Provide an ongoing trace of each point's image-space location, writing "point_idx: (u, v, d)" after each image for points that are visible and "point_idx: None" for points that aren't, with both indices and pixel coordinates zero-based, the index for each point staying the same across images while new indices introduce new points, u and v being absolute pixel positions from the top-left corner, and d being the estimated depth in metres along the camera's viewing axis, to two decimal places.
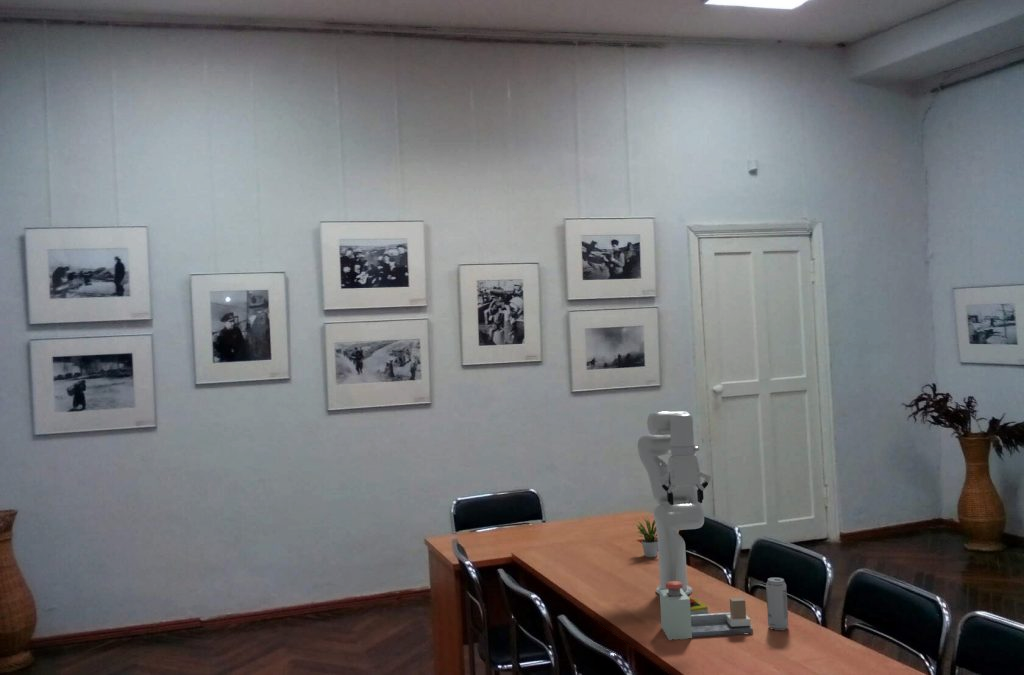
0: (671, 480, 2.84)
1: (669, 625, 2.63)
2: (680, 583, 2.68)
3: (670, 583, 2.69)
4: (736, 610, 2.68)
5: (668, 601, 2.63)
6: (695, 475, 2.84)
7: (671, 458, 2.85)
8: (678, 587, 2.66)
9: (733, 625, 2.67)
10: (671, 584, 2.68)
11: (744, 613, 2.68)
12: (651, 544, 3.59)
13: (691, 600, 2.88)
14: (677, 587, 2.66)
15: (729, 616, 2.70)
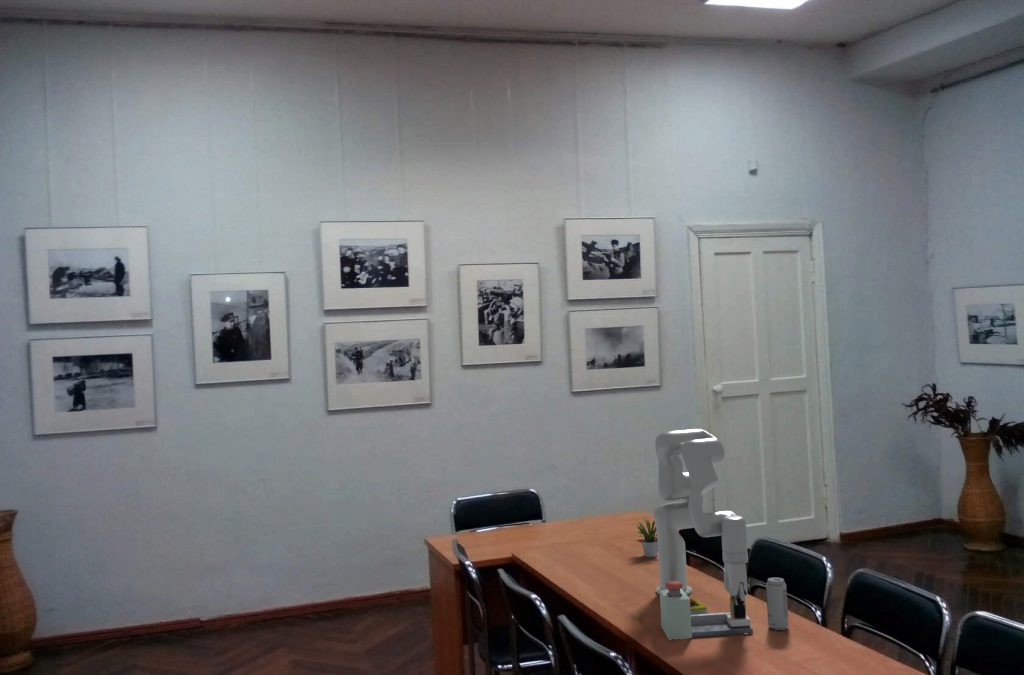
0: (747, 589, 2.64)
1: (669, 625, 2.63)
2: (680, 583, 2.68)
3: (670, 583, 2.69)
4: None
5: (668, 601, 2.63)
6: None
7: (743, 565, 2.65)
8: (678, 587, 2.66)
9: (733, 625, 2.67)
10: (671, 584, 2.68)
11: None
12: (651, 544, 3.59)
13: (690, 600, 2.88)
14: (677, 587, 2.66)
15: (729, 616, 2.70)
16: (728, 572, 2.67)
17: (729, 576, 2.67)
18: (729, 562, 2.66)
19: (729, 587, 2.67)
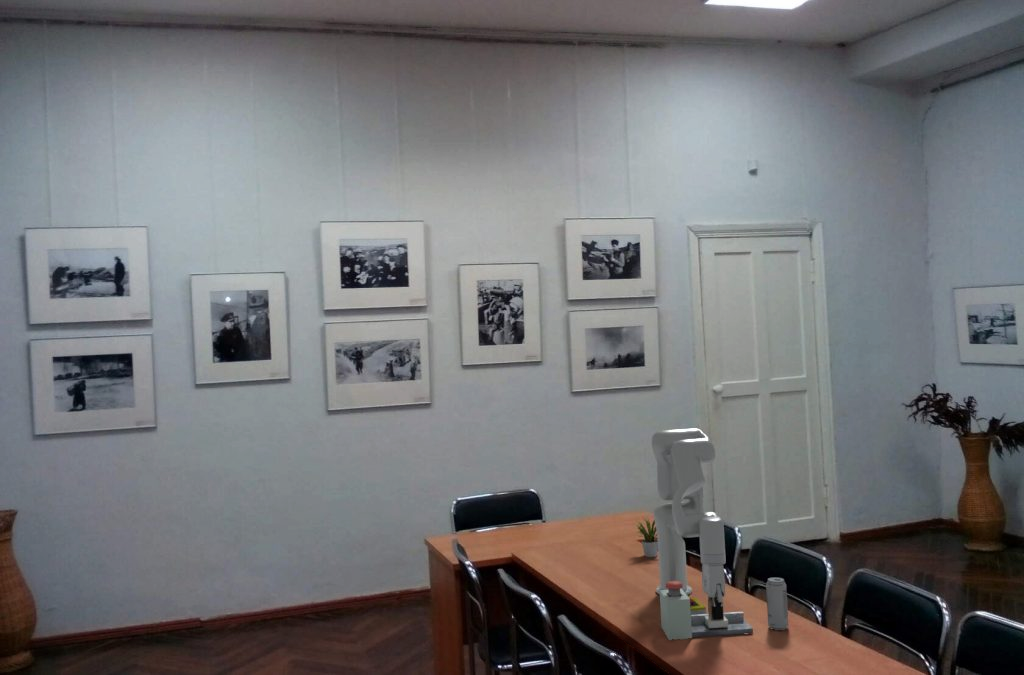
0: (724, 590, 2.64)
1: (669, 625, 2.63)
2: (680, 583, 2.68)
3: (670, 583, 2.69)
4: None
5: (668, 601, 2.63)
6: None
7: (721, 567, 2.65)
8: (678, 587, 2.66)
9: (711, 626, 2.66)
10: (671, 584, 2.68)
11: None
12: (651, 544, 3.59)
13: (690, 600, 2.88)
14: (677, 587, 2.66)
15: (707, 617, 2.70)
16: (706, 573, 2.67)
17: (707, 577, 2.66)
18: (707, 563, 2.66)
19: (707, 588, 2.67)
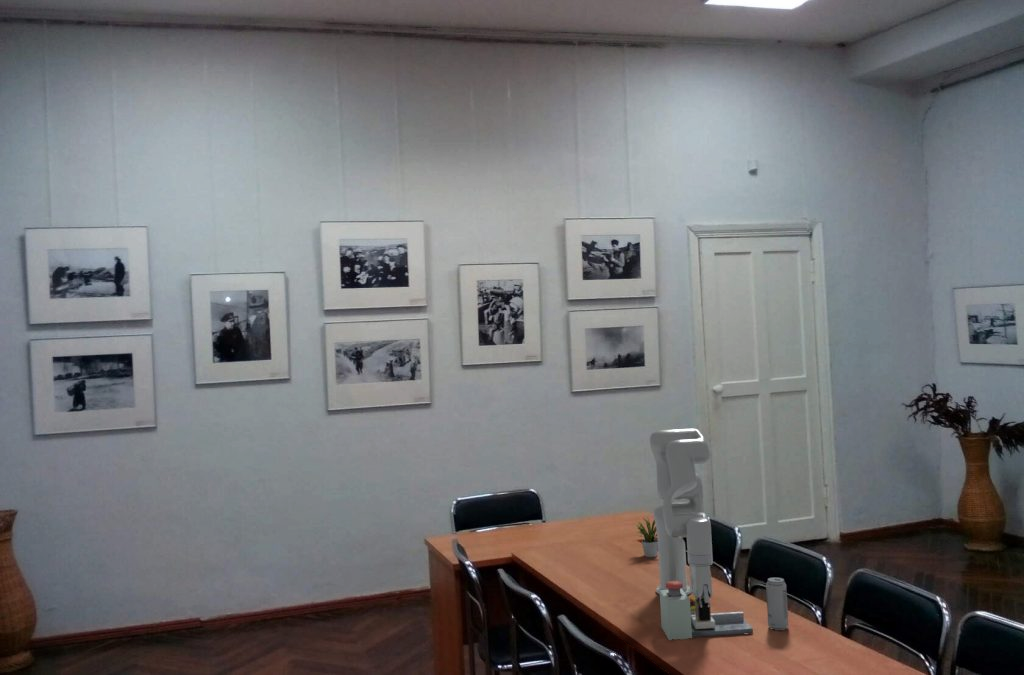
0: (711, 591, 2.64)
1: (669, 625, 2.63)
2: (680, 583, 2.68)
3: (670, 583, 2.69)
4: None
5: (668, 601, 2.63)
6: None
7: (708, 568, 2.64)
8: (678, 587, 2.66)
9: (698, 627, 2.66)
10: (671, 584, 2.68)
11: None
12: (651, 544, 3.59)
13: (690, 600, 2.88)
14: (677, 587, 2.66)
15: (694, 618, 2.70)
16: (693, 574, 2.67)
17: (694, 578, 2.66)
18: (694, 564, 2.66)
19: (694, 589, 2.67)
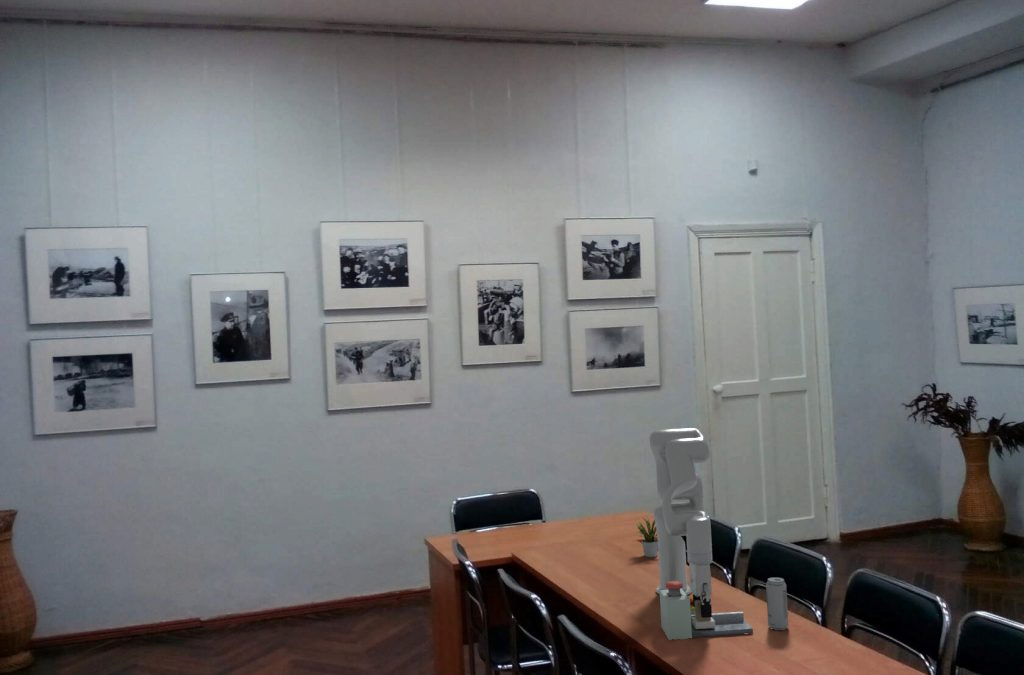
0: (710, 590, 2.64)
1: (669, 625, 2.63)
2: (680, 583, 2.68)
3: (670, 583, 2.69)
4: (700, 612, 2.67)
5: (668, 601, 2.63)
6: None
7: (707, 566, 2.65)
8: (678, 587, 2.66)
9: (698, 627, 2.66)
10: (671, 584, 2.68)
11: None
12: (651, 544, 3.59)
13: (690, 600, 2.88)
14: (677, 587, 2.66)
15: (694, 618, 2.70)
16: (692, 573, 2.67)
17: (693, 577, 2.66)
18: (693, 563, 2.66)
19: (693, 588, 2.67)
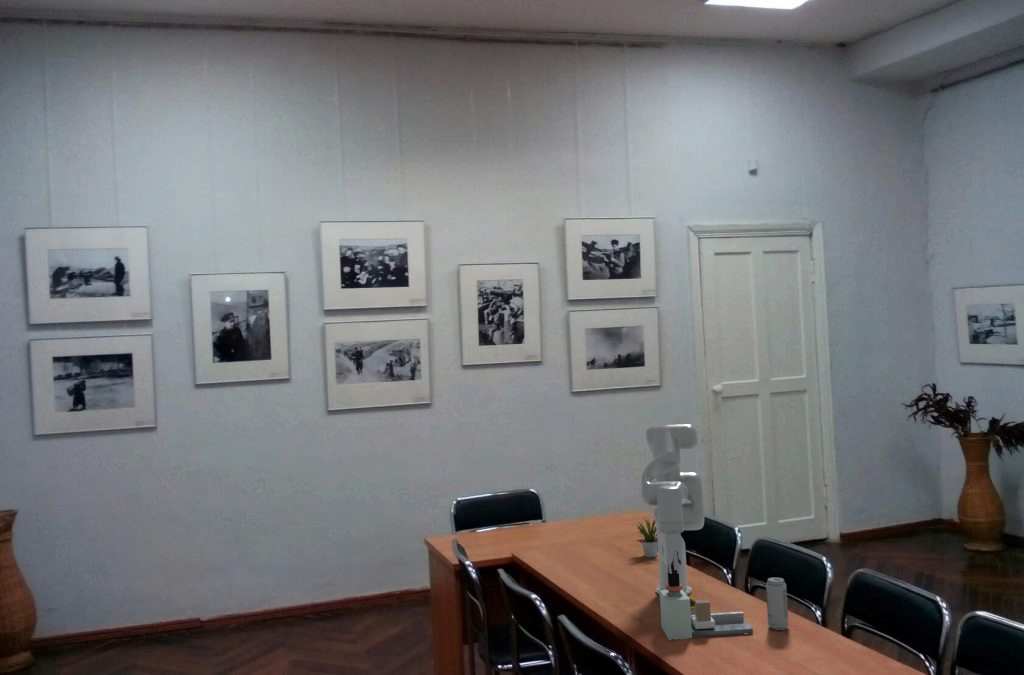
0: (681, 558, 2.64)
1: (669, 625, 2.63)
2: (680, 585, 2.68)
3: None
4: (700, 612, 2.67)
5: (668, 601, 2.63)
6: None
7: (678, 535, 2.64)
8: (678, 589, 2.66)
9: (698, 627, 2.66)
10: None
11: (709, 615, 2.67)
12: (651, 544, 3.59)
13: None
14: (677, 589, 2.66)
15: (694, 618, 2.70)
16: (663, 542, 2.67)
17: (664, 546, 2.66)
18: (664, 531, 2.66)
19: (664, 557, 2.66)
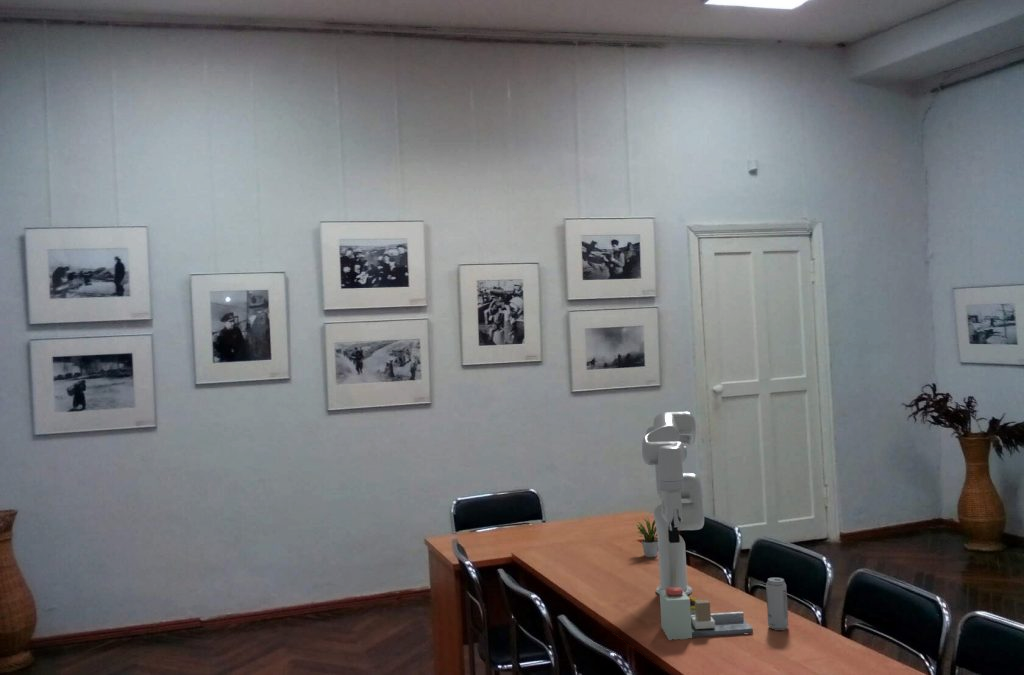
0: (681, 516, 2.71)
1: (669, 625, 2.63)
2: (680, 589, 2.68)
3: (670, 589, 2.69)
4: (700, 612, 2.67)
5: (668, 601, 2.63)
6: None
7: (678, 493, 2.71)
8: (678, 593, 2.66)
9: (698, 627, 2.66)
10: (671, 590, 2.68)
11: (709, 615, 2.67)
12: (651, 544, 3.59)
13: None
14: (677, 593, 2.66)
15: (694, 618, 2.70)
16: (664, 500, 2.74)
17: (665, 504, 2.73)
18: (665, 490, 2.73)
19: (665, 514, 2.74)
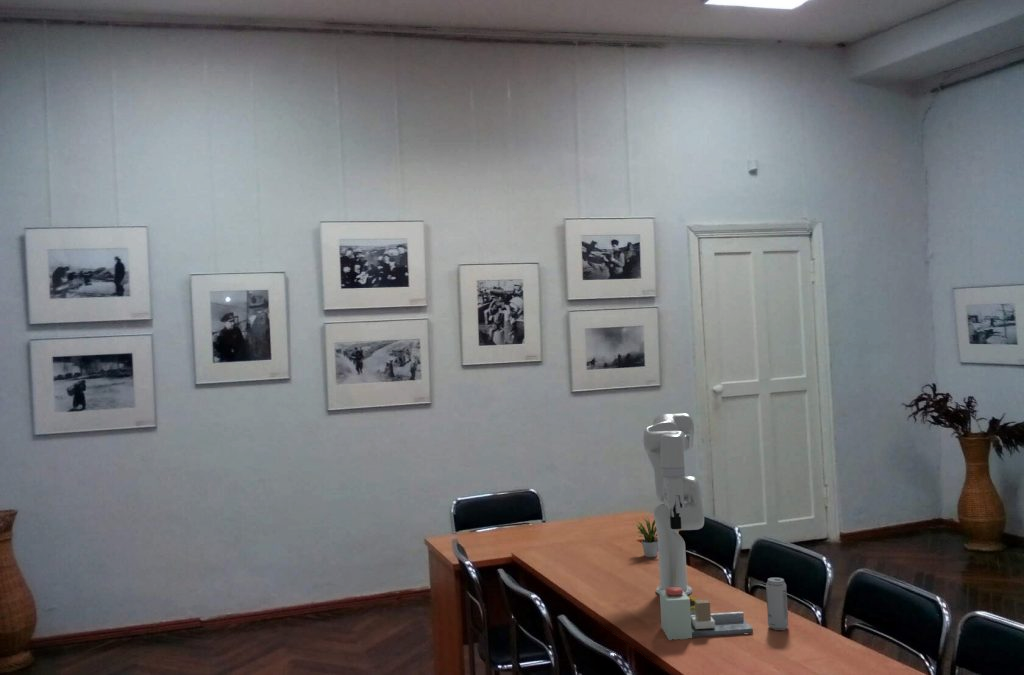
0: (683, 502, 2.78)
1: (669, 625, 2.63)
2: (680, 589, 2.68)
3: (670, 589, 2.69)
4: (700, 612, 2.67)
5: (668, 601, 2.63)
6: None
7: (680, 480, 2.78)
8: (678, 593, 2.66)
9: (698, 627, 2.66)
10: (671, 590, 2.68)
11: (709, 615, 2.67)
12: (651, 544, 3.59)
13: None
14: (677, 593, 2.66)
15: (694, 618, 2.70)
16: (666, 487, 2.81)
17: (667, 490, 2.80)
18: (667, 477, 2.80)
19: (667, 501, 2.80)
